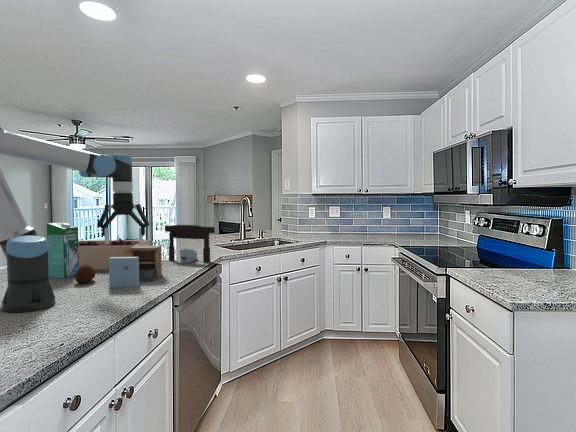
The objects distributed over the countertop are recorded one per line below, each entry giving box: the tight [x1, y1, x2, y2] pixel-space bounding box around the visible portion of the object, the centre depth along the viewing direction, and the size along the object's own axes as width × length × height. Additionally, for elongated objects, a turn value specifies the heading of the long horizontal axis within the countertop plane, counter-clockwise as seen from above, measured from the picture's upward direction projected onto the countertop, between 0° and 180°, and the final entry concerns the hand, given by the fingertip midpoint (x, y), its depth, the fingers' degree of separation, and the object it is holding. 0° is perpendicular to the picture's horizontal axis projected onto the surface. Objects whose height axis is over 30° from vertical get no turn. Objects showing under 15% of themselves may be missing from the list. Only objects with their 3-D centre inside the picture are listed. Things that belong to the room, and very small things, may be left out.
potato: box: [74, 265, 96, 284], centre depth 171 cm, size 8×12×8 cm, turn 10°
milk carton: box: [46, 221, 79, 279], centre depth 184 cm, size 9×9×25 cm
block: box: [108, 257, 140, 288], centre depth 163 cm, size 4×11×12 cm, turn 95°
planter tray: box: [78, 239, 150, 271], centre depth 214 cm, size 27×38×12 cm
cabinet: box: [130, 245, 163, 282], centre depth 180 cm, size 14×12×14 cm
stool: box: [164, 224, 216, 264], centre depth 228 cm, size 16×21×33 cm
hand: (124, 243), depth 163 cm, fingers open, 13 cm apart
